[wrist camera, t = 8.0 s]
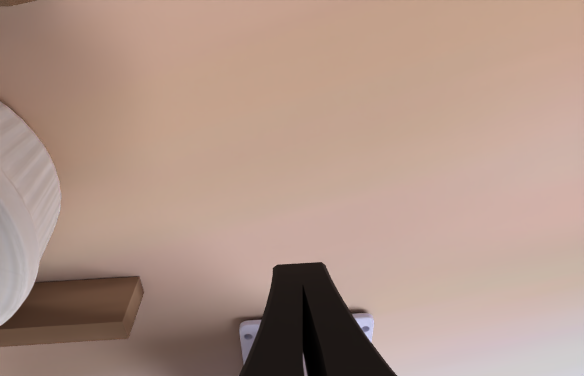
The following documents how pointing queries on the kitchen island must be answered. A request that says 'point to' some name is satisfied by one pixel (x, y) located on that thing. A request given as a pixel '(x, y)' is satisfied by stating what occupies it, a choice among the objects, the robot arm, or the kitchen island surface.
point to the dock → (73, 306)
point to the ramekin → (23, 209)
